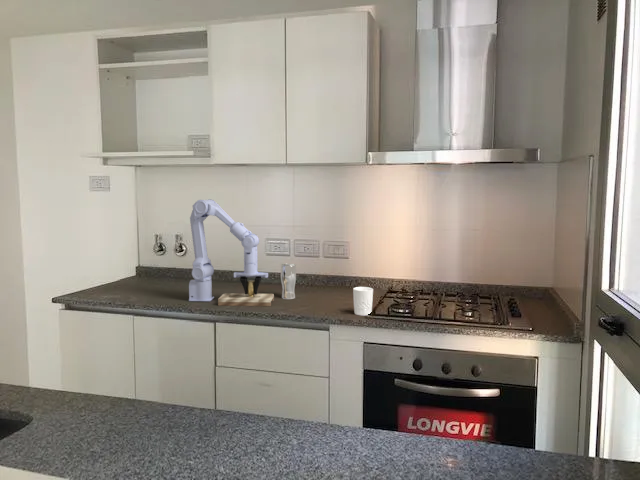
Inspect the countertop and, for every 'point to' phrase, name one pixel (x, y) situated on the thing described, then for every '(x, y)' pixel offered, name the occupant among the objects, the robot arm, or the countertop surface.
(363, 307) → the white cup
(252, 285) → the brass peg
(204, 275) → the robot arm
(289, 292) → the beer glass
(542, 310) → the countertop surface
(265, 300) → the checkered wooden board
